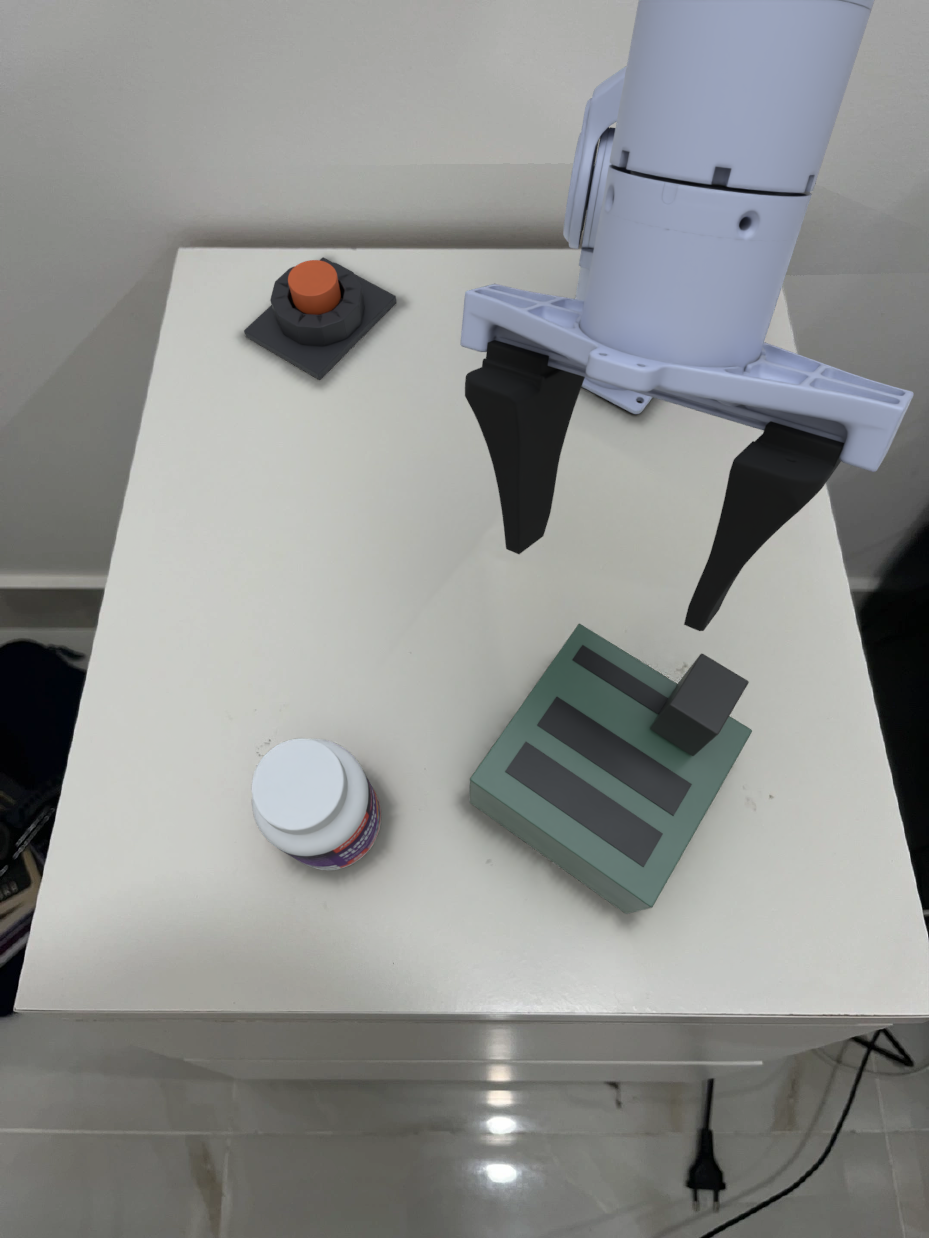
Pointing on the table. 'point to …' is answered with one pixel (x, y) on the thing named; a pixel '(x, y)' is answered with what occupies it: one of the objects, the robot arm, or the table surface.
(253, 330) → the control pad
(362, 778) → the pill bottle
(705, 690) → the toaster slider
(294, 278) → the button
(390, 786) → the table surface
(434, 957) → the table surface
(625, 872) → the toaster
